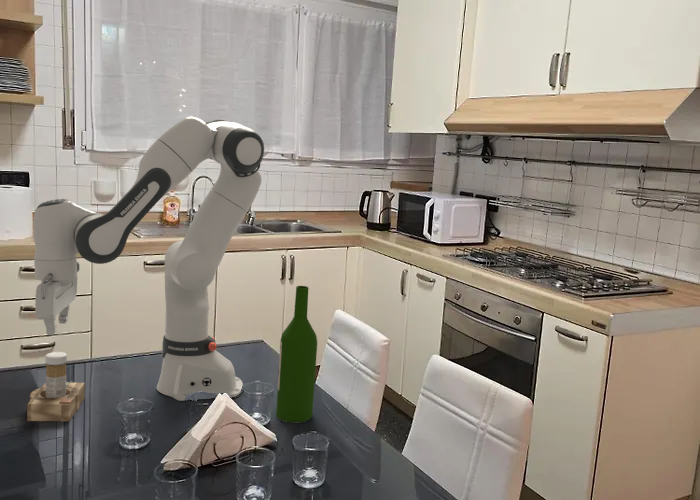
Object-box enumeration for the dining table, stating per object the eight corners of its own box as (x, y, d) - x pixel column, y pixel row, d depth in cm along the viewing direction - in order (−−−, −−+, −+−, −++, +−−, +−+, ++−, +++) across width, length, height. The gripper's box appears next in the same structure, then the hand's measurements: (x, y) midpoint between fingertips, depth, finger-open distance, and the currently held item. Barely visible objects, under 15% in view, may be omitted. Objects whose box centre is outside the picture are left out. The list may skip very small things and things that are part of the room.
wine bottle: (277, 407, 165) (285, 282, 160) (313, 410, 165) (321, 284, 161) (274, 422, 156) (282, 289, 152) (311, 424, 156) (320, 292, 152)
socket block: (85, 398, 162) (85, 381, 162) (70, 421, 149) (70, 403, 148) (40, 397, 161) (41, 380, 160) (21, 420, 147) (21, 402, 146)
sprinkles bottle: (63, 403, 158) (63, 350, 156) (68, 410, 154) (69, 355, 152) (42, 407, 155) (43, 352, 153) (48, 414, 151) (48, 358, 150)
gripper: (57, 279, 140) (59, 341, 142) (81, 262, 160) (82, 317, 162) (26, 279, 139) (28, 341, 141) (54, 262, 159) (55, 317, 161)
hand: (57, 328), depth 152 cm, fingers open, 8 cm apart
